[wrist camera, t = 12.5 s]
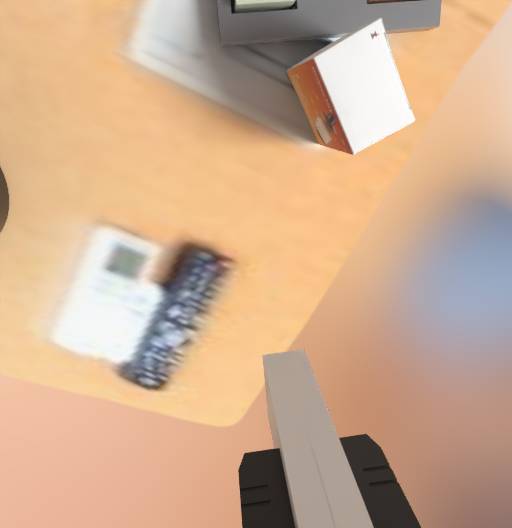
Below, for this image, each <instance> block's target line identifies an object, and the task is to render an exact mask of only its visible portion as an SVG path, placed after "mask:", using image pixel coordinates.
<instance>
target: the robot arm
mask: <svg viewBox="0 0 512 528" xmlns="http://www.w3.org/2000/svg"><path fill="white" fill-rule="evenodd" d="M8 209H9V195H8V188H7V184H6V180H5V177H4V175H3V172H2V170H1V168H0V232H1V231H2V229H3V227H4V225H5V222H6V219H7V215H8ZM263 365H264V376H265V387H266V398H267V409H268V418H269V423H270V429H271V434H272V439H273V445H274V449H270V450H263V451H256V452H250V453H245V454H244V456H243V459H242V462H241V465H240V467H239V485H240V498H241V512H242V526H243V528H421V526H420V524H419V522H418V520H417V518H416V517H415V514H414V512H413V511H412V509H411V507H410V505H409V503H408V501H407V499H406V497H405V495H404V493H403V491H402V489H401V487H400V485H399V483H398V482H397V479H396V477H395V475H394V473H393V471H392V469H391V468H390V466H389V463H388V461H387V459H386V457H385V455H384V453H383V451H382V449H381V447H380V446H379V445H378V444H376V443H375V442H374V441H373V440H372V439H371V438H370V437H369V436H368V435H367V434H363V435H356V436H350V437H343V438H339V437H338V434H337V432H336V430H335V427H334V424H333V422H332V419H331V417H330V414H329V411H328V409H327V406H326V404H325V401H324V398H323V396H322V394H321V391H320V388H319V386H318V383H317V380H316V378H315V376H314V373H313V370H312V368H311V365H310V362H309V360H308V357H307V355H306V352H305V350H298V351H290V352H282V353H275V354H267V355H263Z"/></svg>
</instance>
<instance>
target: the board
mask: <svg viewBox="0 0 512 528" xmlns="http://www.w3.org/2000/svg"><path fill="white" fill-rule="evenodd" d="M217 10H218V20H219V30H220V40H221V46H232V45H245V44H258V43H271V42H284V41H297V40H310V39H323V38H337V37H344V36H345V35H347V34H349V33H351V32H353V31H355V30H356V29H358V28H360V27H362V26H364V25H366V24H368V23H369V22H371V21H373V20H375V19H377V18H382V22H383V25H384V29H385V33H386V34H389V33H402V32H415V31H428V30H431V29H433V28H436V27H438V26H439V24H440V12H441V0H419V1H406V2H392V3H377V4H367V0H296V1H295V2H294V3H293V10H279V11H265V12H250V13H236V14H232V13H231V2H230V0H217Z"/></svg>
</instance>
